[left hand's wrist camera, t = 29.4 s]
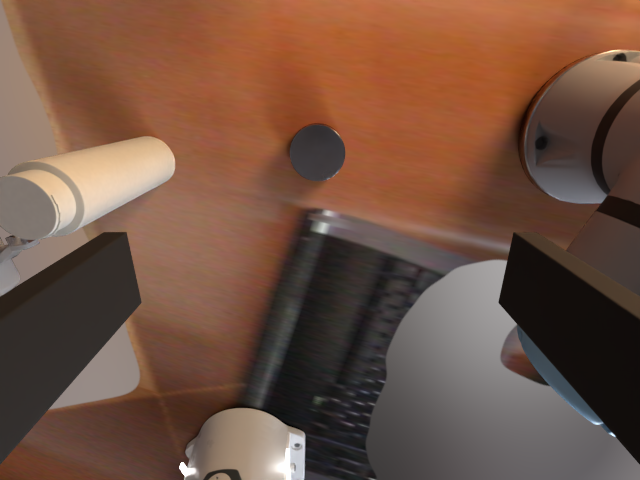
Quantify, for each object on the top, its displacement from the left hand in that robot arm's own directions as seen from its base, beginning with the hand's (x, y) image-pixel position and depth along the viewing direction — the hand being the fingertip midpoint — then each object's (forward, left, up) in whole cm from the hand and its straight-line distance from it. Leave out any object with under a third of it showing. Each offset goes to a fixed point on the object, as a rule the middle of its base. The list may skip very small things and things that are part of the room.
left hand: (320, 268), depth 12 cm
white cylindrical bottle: (+14, +12, -29) cm, 35 cm away
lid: (0, 0, -27) cm, 27 cm away
